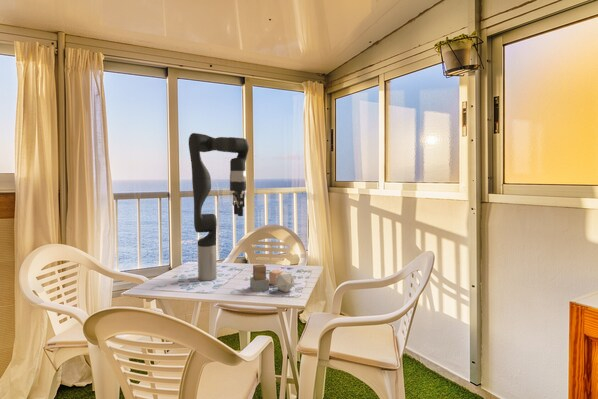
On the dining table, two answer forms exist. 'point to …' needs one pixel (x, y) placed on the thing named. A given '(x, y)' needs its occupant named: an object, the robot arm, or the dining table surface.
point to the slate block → (259, 284)
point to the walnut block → (259, 272)
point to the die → (284, 282)
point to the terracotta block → (273, 276)
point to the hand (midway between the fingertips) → (238, 215)
